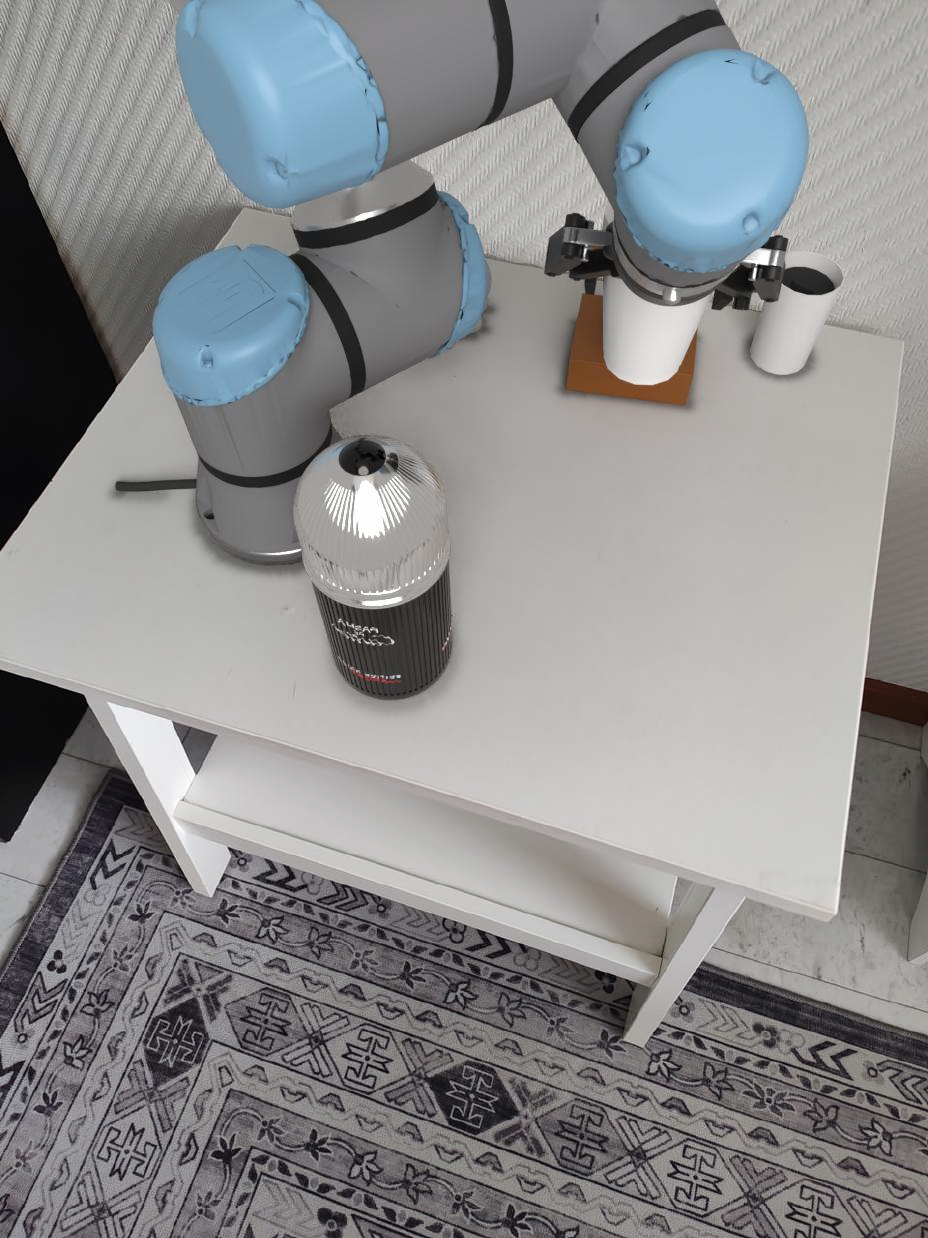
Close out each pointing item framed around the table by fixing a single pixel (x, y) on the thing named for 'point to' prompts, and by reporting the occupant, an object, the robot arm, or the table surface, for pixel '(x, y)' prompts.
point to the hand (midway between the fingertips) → (655, 284)
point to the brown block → (597, 378)
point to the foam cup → (644, 331)
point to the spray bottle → (378, 563)
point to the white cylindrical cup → (796, 312)
